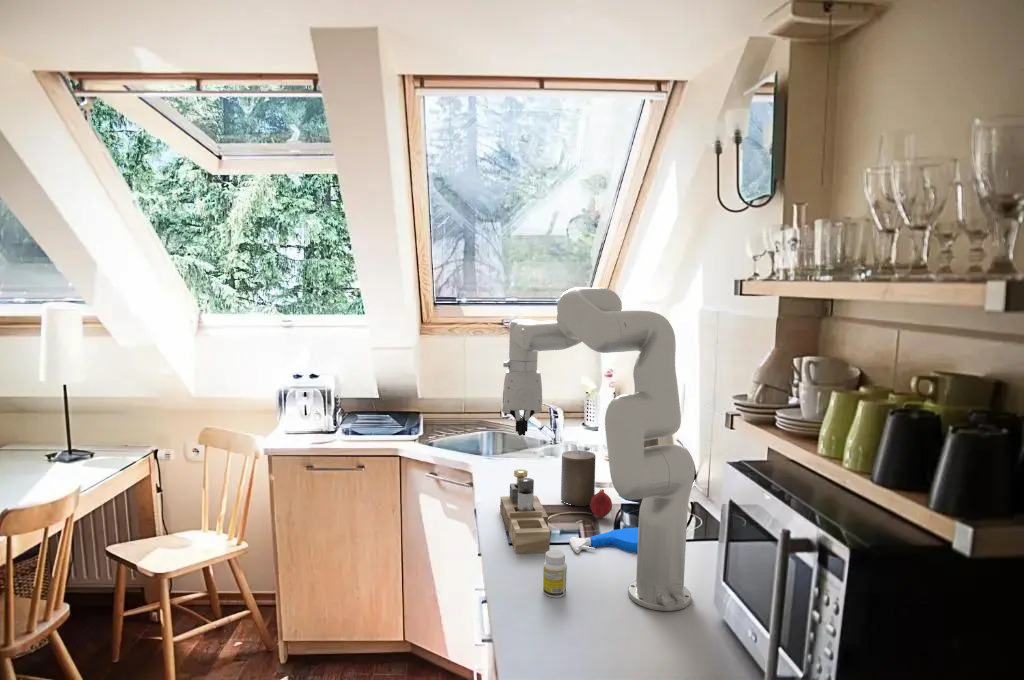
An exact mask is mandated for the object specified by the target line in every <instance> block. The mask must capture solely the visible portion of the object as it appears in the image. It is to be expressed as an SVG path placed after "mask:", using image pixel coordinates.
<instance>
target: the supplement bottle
mask: <svg viewBox="0 0 1024 680" xmlns="http://www.w3.org/2000/svg"><path fill="white" fill-rule="evenodd" d="M544 558H545V561H544V563H543V581H542V582H543V583H542V584H543V585H542V586H543V587H542V592H543V594H544V595H545V596H547V597H549V598H557V599H558V598H562V597H564V596H565V595H566V593H567V569H568V565H567V562H566V554H565V552H564V551H562V550H559V549H550V550H549V551H547V552H545V557H544Z"/></svg>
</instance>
